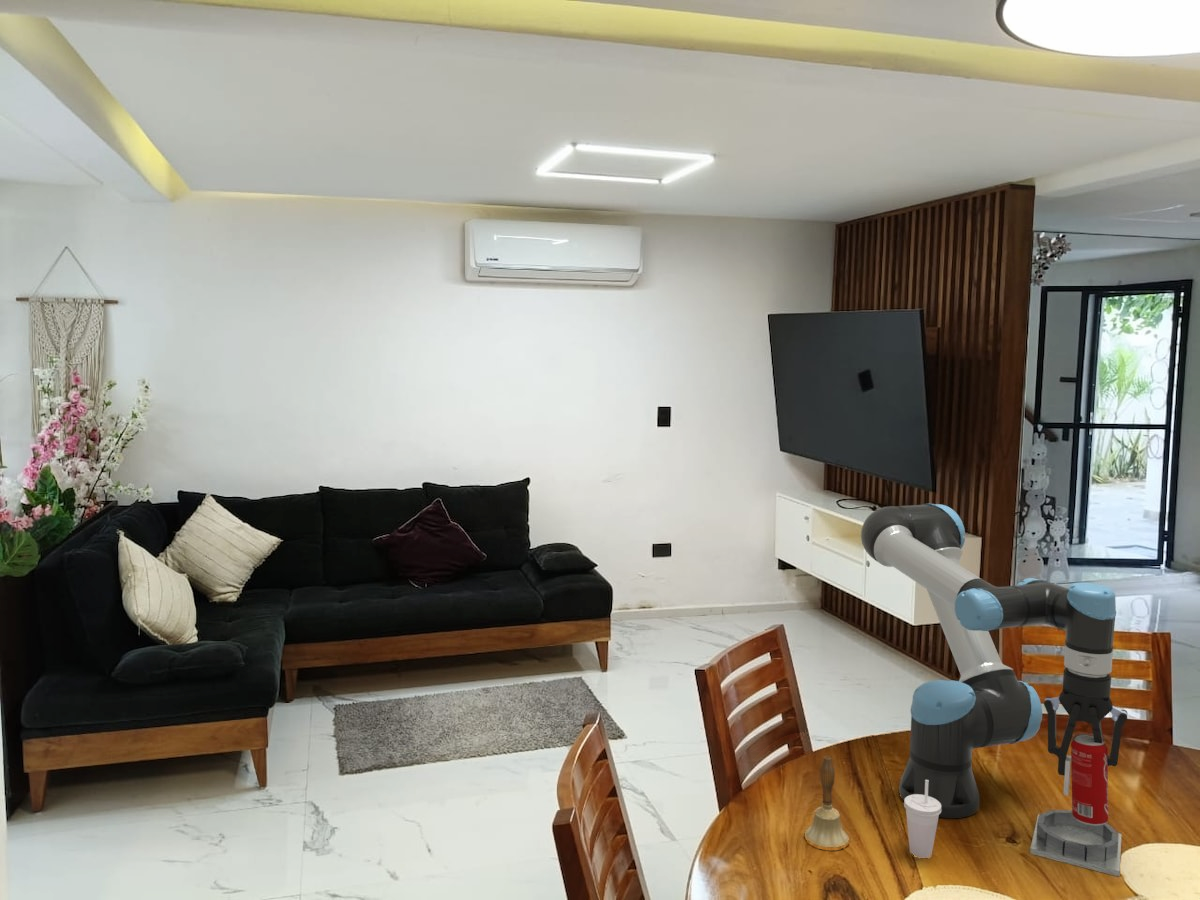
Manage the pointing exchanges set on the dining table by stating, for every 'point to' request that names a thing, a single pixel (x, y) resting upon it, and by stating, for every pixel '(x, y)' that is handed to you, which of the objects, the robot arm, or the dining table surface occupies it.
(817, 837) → the hand bell
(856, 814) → the dining table surface
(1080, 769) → the beverage can
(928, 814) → the smoothie
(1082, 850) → the collar
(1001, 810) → the dining table surface
